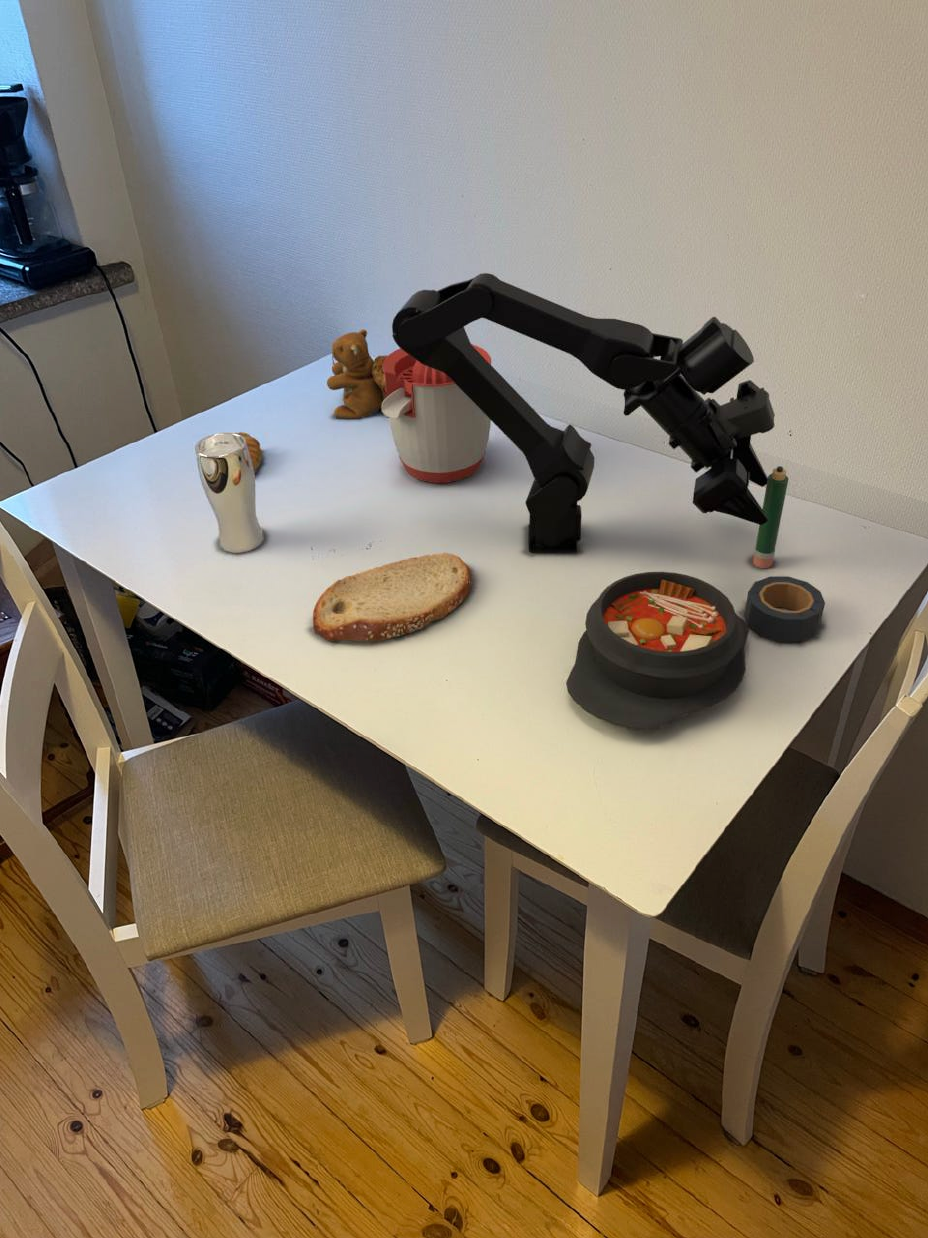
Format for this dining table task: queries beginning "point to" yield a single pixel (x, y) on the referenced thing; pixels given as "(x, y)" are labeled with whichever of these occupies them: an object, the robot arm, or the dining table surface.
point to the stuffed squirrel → (357, 376)
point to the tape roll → (782, 622)
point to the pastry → (253, 450)
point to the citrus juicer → (433, 420)
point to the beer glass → (230, 489)
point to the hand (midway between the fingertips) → (765, 502)
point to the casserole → (657, 651)
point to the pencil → (771, 518)
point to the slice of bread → (392, 598)
